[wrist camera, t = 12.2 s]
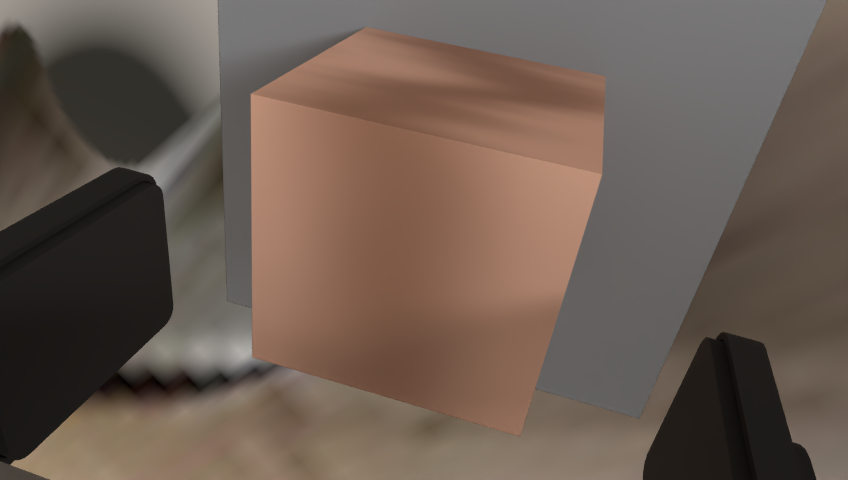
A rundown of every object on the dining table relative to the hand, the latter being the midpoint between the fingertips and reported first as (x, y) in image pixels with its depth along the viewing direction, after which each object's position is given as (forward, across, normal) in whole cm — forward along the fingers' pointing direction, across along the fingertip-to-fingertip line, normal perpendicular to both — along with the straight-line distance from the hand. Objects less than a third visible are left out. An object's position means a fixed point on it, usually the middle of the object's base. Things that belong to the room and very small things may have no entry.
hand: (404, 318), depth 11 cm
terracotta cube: (+7, +1, 0) cm, 7 cm away
